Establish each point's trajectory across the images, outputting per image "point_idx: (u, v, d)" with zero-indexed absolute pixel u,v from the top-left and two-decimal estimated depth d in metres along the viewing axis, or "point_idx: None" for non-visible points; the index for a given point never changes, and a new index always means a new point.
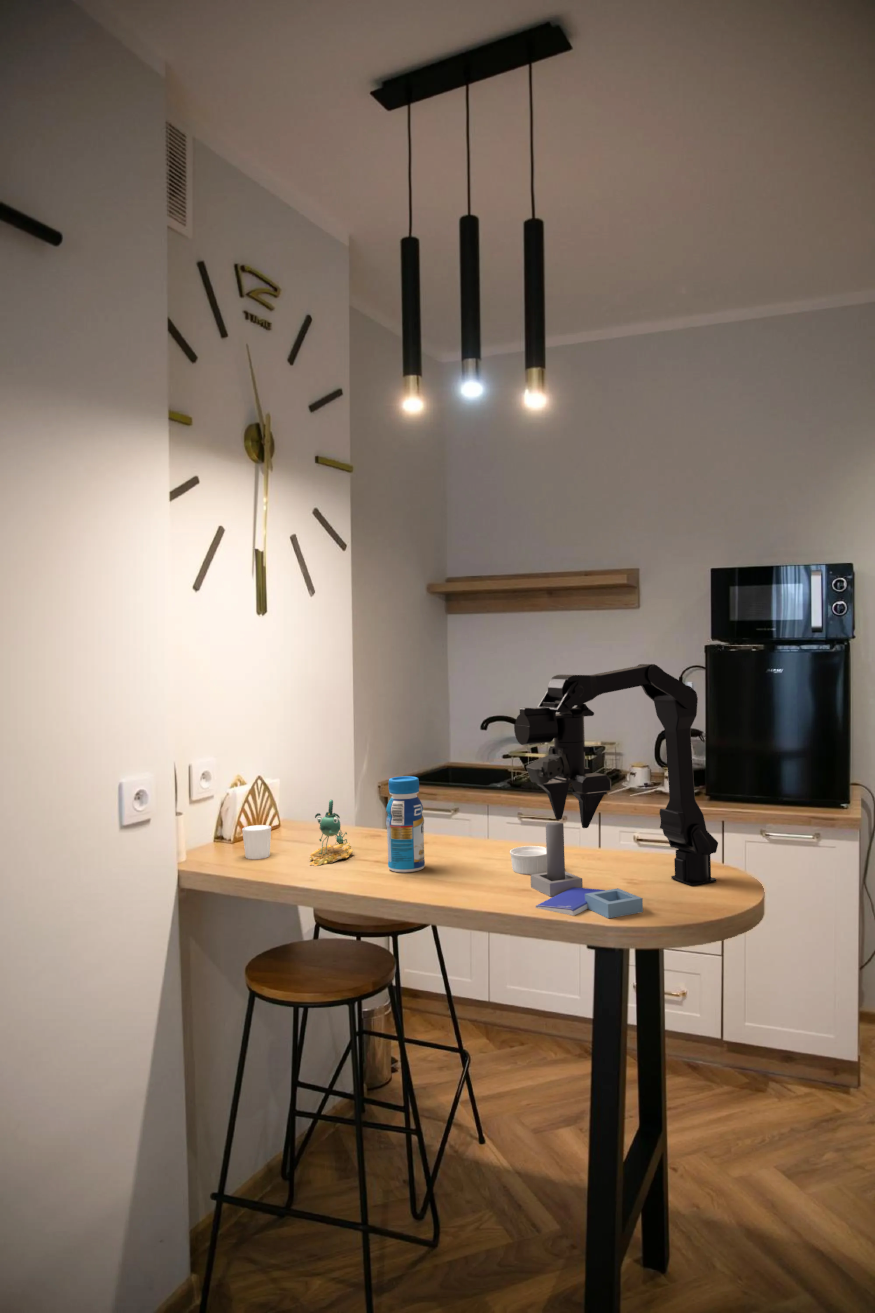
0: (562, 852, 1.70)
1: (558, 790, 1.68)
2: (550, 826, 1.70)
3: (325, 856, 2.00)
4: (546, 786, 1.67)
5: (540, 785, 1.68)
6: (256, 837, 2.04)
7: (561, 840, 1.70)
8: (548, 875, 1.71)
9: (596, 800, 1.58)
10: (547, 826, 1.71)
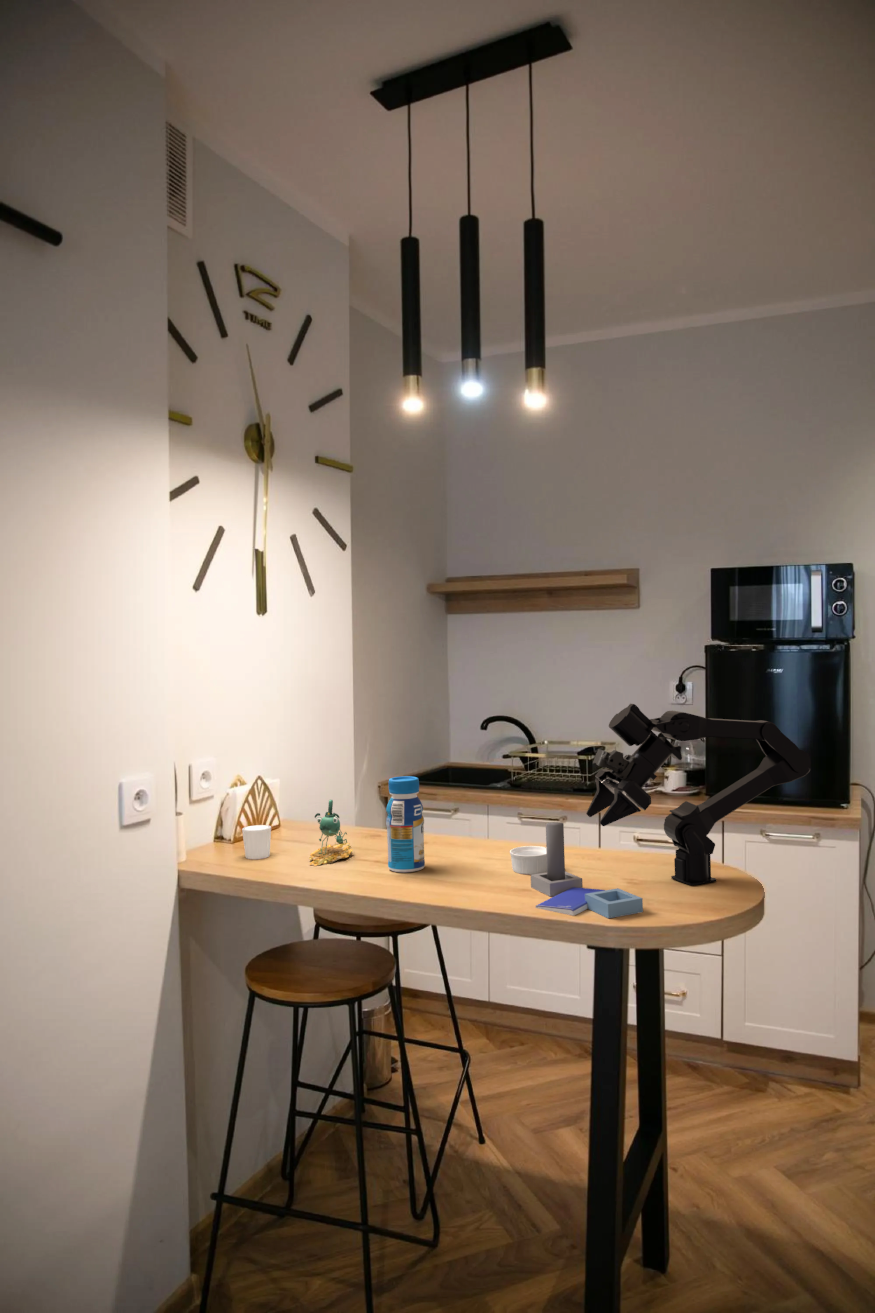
0: (562, 852, 1.70)
1: (606, 796, 1.77)
2: (550, 826, 1.70)
3: (325, 856, 2.00)
4: (600, 784, 1.77)
5: (596, 780, 1.79)
6: (256, 837, 2.04)
7: (561, 840, 1.70)
8: (548, 875, 1.71)
9: (627, 811, 1.66)
10: (547, 826, 1.71)
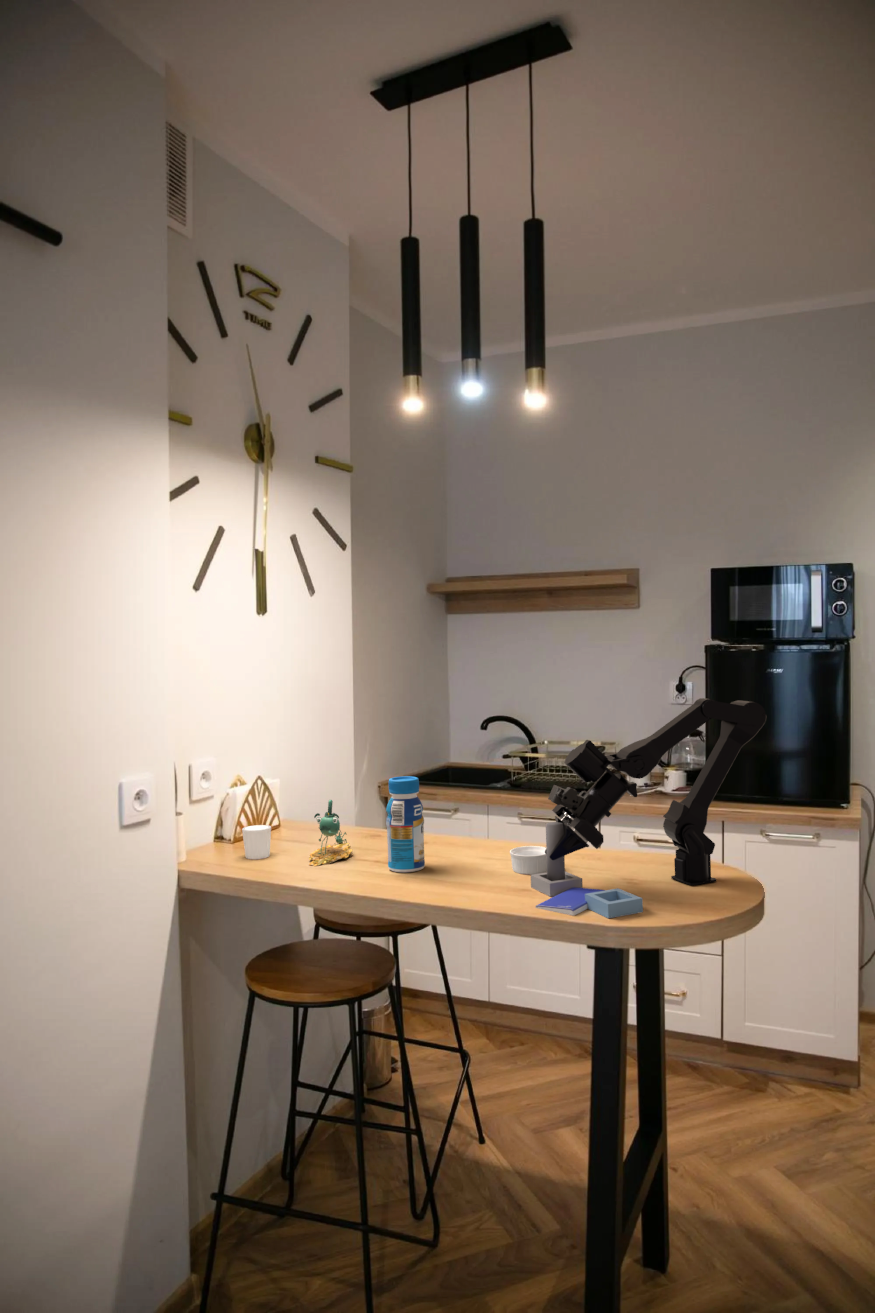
0: None
1: None
2: (550, 826, 1.70)
3: (324, 856, 2.00)
4: None
5: (556, 818, 1.75)
6: (256, 837, 2.04)
7: None
8: (548, 875, 1.71)
9: (576, 846, 1.68)
10: (547, 826, 1.71)
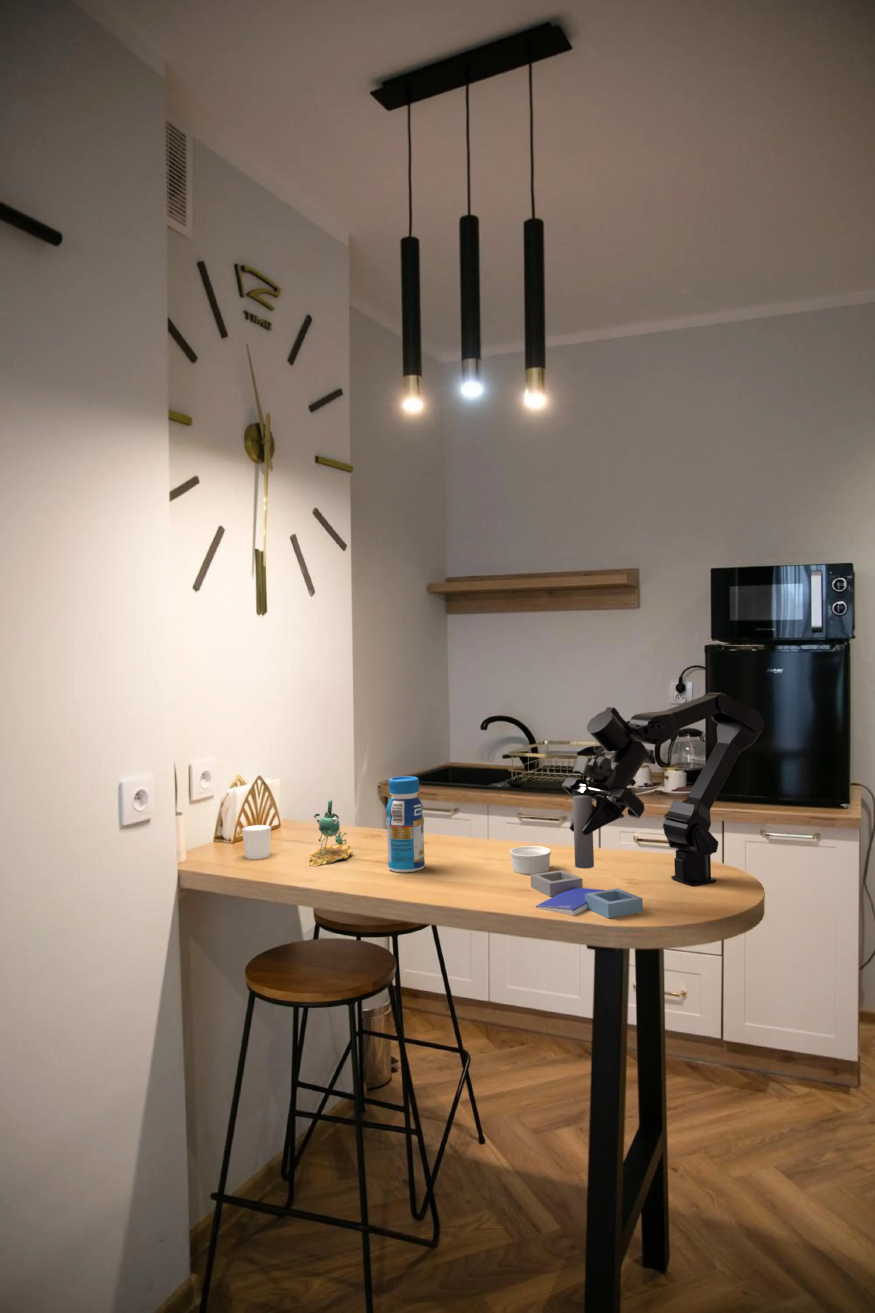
0: None
1: None
2: (581, 799, 1.60)
3: (324, 856, 2.00)
4: None
5: (576, 792, 1.66)
6: (256, 837, 2.04)
7: (591, 813, 1.61)
8: (578, 852, 1.61)
9: (609, 818, 1.60)
10: (577, 799, 1.61)
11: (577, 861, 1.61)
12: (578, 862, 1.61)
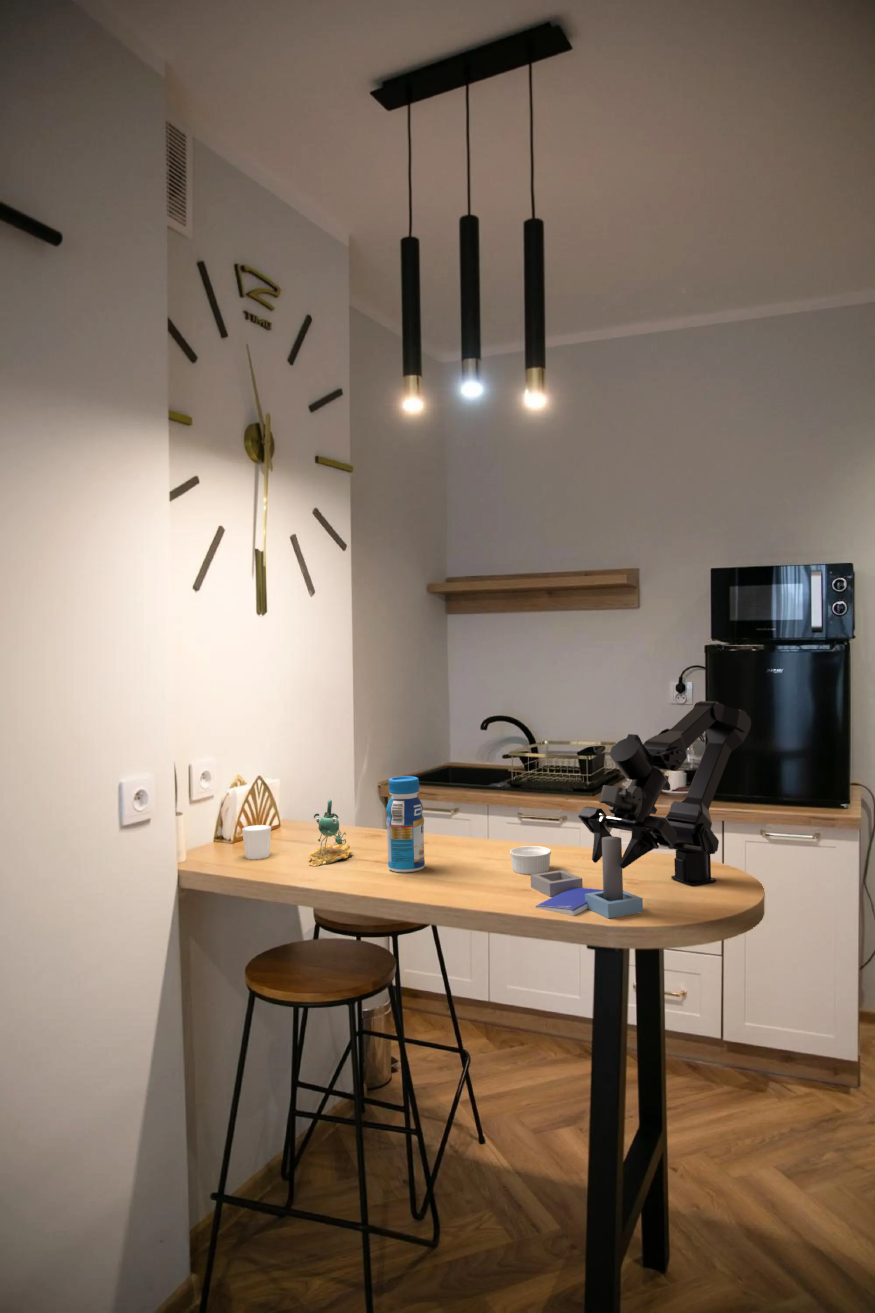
0: None
1: None
2: (613, 841, 1.55)
3: (324, 856, 2.00)
4: (601, 824, 1.61)
5: (594, 821, 1.62)
6: (256, 837, 2.04)
7: (621, 855, 1.57)
8: (609, 895, 1.56)
9: (644, 849, 1.56)
10: (609, 842, 1.56)
11: None
12: None
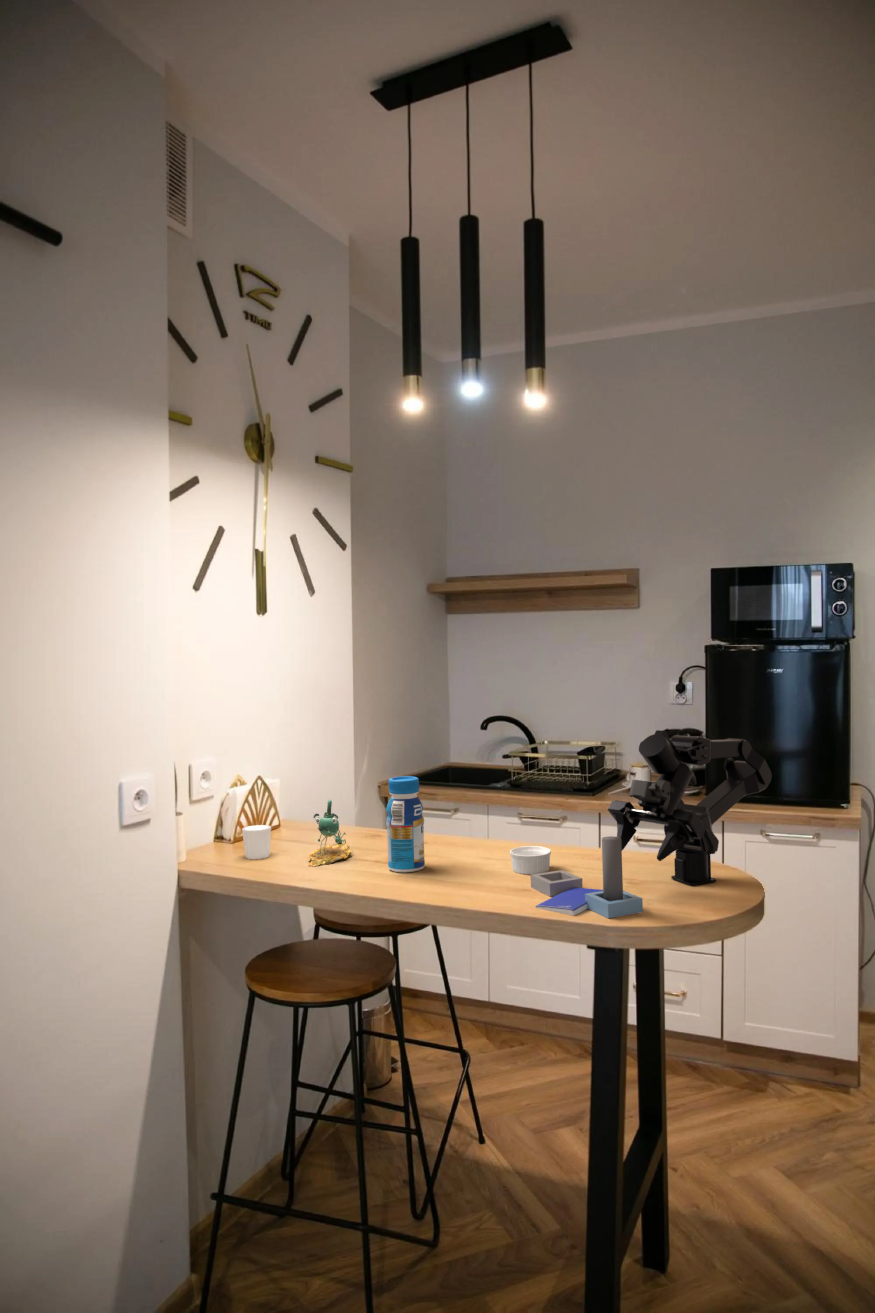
0: None
1: (628, 828, 1.69)
2: (613, 841, 1.55)
3: (324, 856, 2.00)
4: (624, 816, 1.68)
5: (617, 813, 1.69)
6: (256, 837, 2.04)
7: (621, 855, 1.57)
8: (609, 896, 1.56)
9: (680, 842, 1.61)
10: (609, 842, 1.56)
11: None
12: None
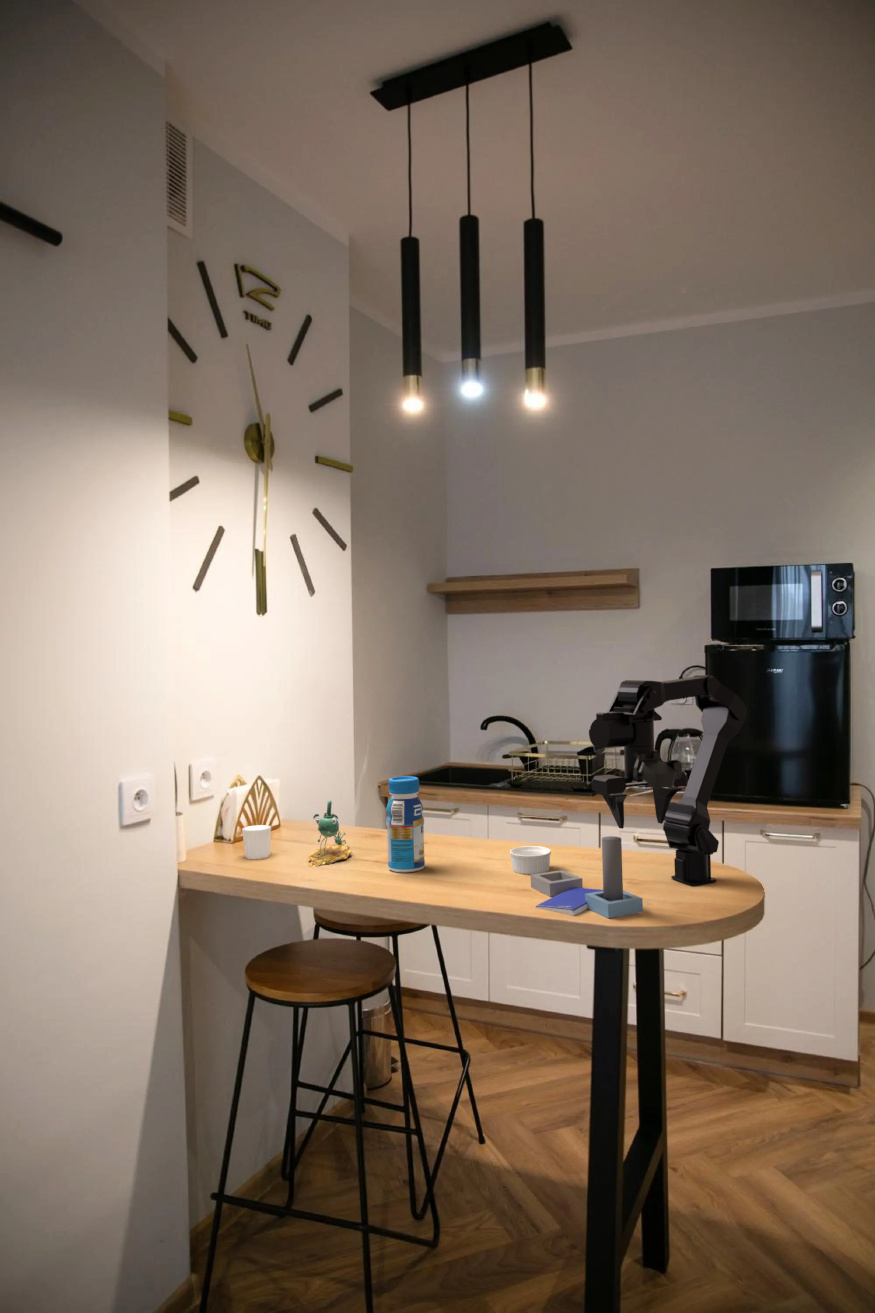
0: None
1: None
2: (613, 841, 1.55)
3: (323, 857, 2.00)
4: None
5: (621, 796, 1.62)
6: (256, 837, 2.04)
7: (621, 855, 1.57)
8: (609, 895, 1.56)
9: None
10: (609, 842, 1.56)
11: None
12: None
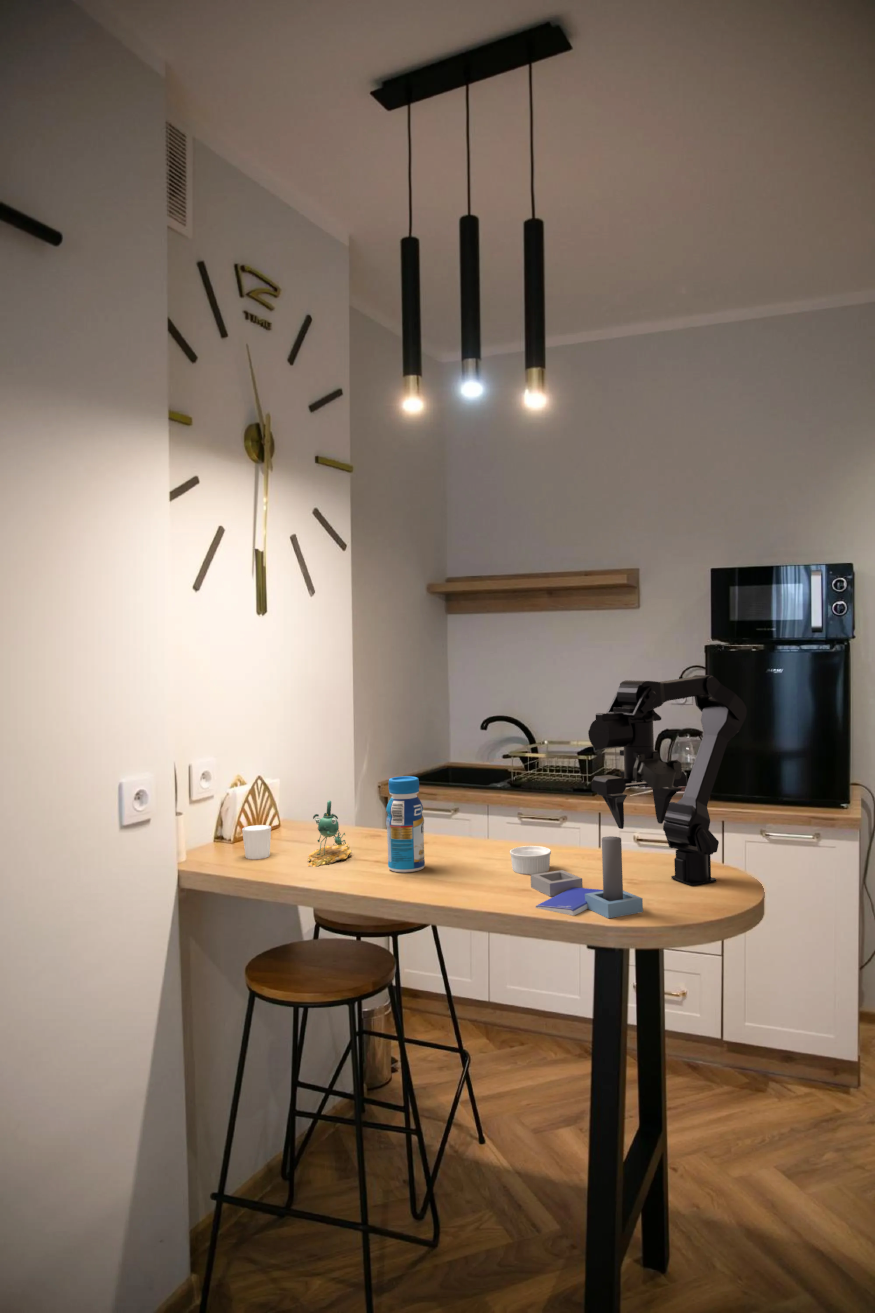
0: None
1: None
2: (613, 841, 1.55)
3: (323, 857, 2.00)
4: None
5: (621, 797, 1.62)
6: (256, 837, 2.04)
7: (621, 855, 1.57)
8: (609, 896, 1.56)
9: None
10: (609, 842, 1.56)
11: None
12: None
